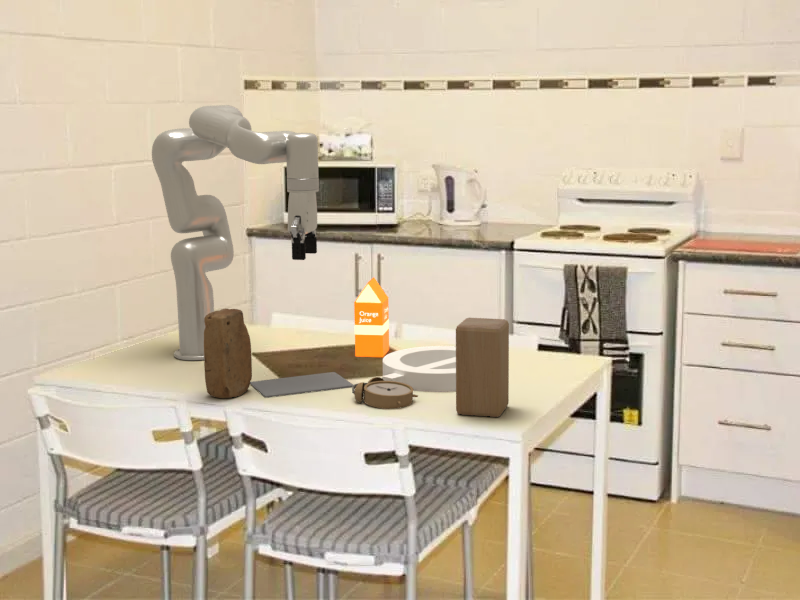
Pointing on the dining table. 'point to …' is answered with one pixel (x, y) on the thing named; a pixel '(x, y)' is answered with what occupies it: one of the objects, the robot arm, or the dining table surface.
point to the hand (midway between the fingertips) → (304, 256)
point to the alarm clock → (384, 393)
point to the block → (227, 354)
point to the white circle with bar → (423, 368)
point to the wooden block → (482, 367)
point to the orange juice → (371, 321)
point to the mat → (300, 384)
